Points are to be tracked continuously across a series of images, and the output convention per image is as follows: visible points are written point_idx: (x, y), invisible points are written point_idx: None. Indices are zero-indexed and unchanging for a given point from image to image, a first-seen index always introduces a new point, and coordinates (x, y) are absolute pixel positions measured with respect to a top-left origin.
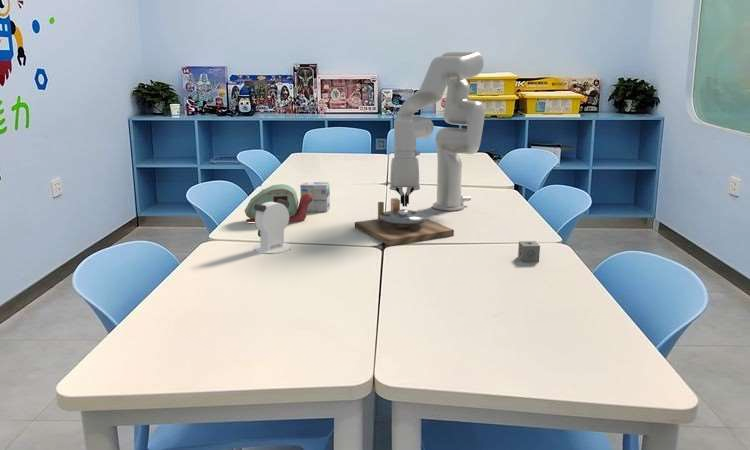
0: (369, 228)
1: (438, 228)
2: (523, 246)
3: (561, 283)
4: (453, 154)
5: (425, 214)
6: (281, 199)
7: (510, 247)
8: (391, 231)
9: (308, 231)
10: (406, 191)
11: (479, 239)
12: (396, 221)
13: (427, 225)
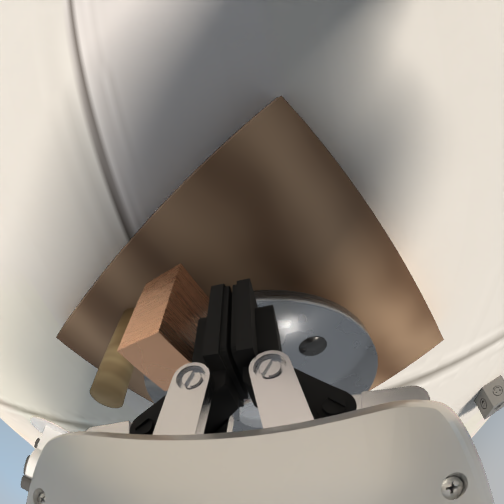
0: (145, 393)
1: (401, 344)
2: (484, 418)
3: (469, 426)
4: None
5: (375, 354)
6: (27, 490)
7: (499, 353)
8: None
9: (10, 360)
10: (254, 389)
11: (478, 331)
12: None
13: (367, 324)
